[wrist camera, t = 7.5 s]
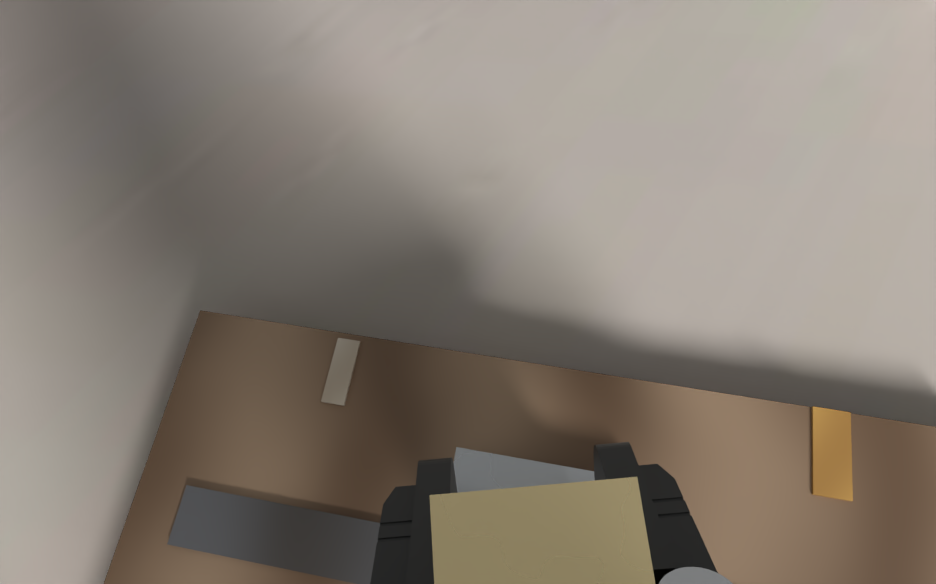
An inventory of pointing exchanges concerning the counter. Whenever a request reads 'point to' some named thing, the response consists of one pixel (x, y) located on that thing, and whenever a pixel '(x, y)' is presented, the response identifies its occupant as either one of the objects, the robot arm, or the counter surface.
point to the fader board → (504, 433)
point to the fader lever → (537, 525)
